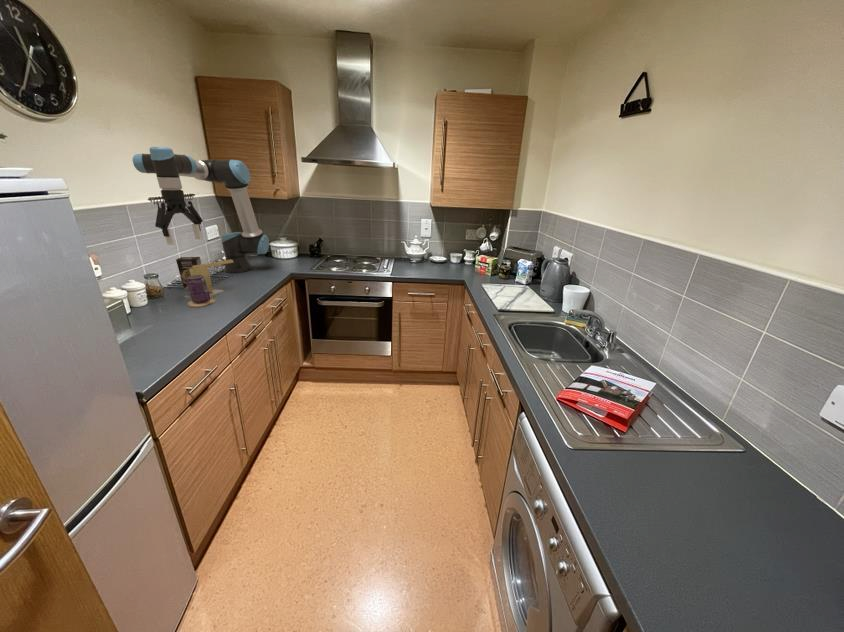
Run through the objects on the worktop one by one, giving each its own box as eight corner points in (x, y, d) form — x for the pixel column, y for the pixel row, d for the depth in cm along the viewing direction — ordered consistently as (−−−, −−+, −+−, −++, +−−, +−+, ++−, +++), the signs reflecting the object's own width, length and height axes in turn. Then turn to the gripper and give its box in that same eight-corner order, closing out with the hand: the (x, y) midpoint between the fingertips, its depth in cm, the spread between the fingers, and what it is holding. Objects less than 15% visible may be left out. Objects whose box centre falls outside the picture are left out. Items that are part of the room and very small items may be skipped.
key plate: (205, 290, 168) (204, 287, 167) (224, 292, 166) (224, 289, 165) (184, 297, 157) (184, 294, 157) (205, 299, 155) (204, 297, 154)
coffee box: (183, 290, 167) (174, 259, 161) (188, 286, 173) (180, 256, 167) (203, 289, 170) (195, 259, 163) (207, 285, 175) (200, 256, 169)
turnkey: (195, 293, 159) (188, 266, 154) (236, 284, 173) (230, 259, 168) (198, 294, 157) (190, 267, 152) (238, 285, 172) (233, 260, 167)
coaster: (202, 298, 157) (201, 296, 156) (221, 300, 155) (220, 298, 154) (181, 306, 147) (181, 304, 147) (201, 308, 145) (201, 306, 144)
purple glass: (207, 297, 155) (201, 273, 150) (213, 301, 151) (206, 276, 146) (190, 301, 150) (183, 276, 145) (195, 305, 146) (188, 279, 141)
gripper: (190, 188, 143) (202, 236, 151) (132, 189, 121) (150, 246, 129) (204, 188, 142) (215, 237, 150) (148, 190, 119) (165, 247, 128)
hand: (185, 241), depth 140 cm, fingers open, 13 cm apart
